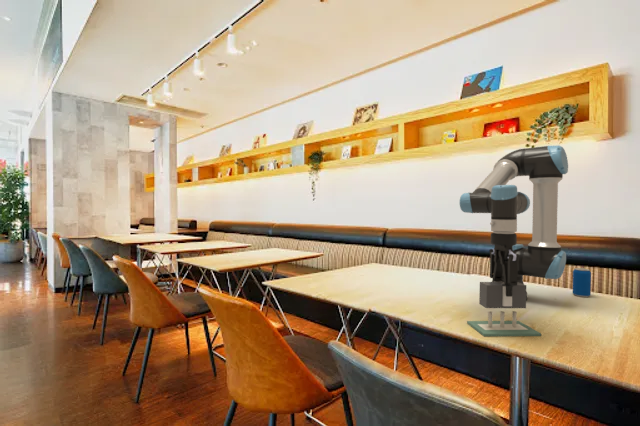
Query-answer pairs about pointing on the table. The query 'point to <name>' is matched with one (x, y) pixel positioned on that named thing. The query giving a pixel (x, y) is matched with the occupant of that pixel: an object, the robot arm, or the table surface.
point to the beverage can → (581, 282)
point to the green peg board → (503, 327)
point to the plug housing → (501, 295)
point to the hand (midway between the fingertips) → (502, 303)
